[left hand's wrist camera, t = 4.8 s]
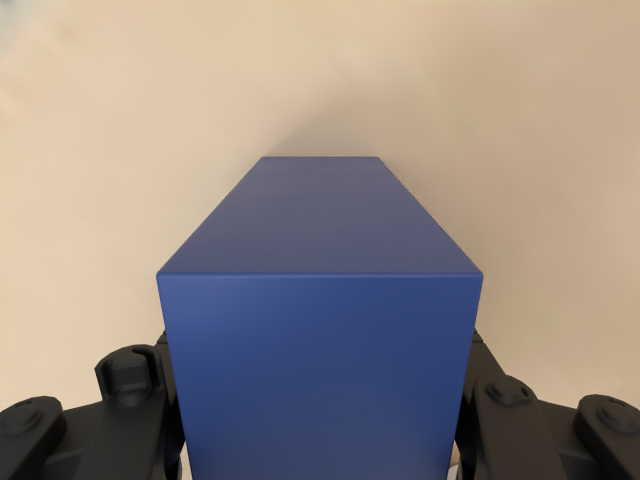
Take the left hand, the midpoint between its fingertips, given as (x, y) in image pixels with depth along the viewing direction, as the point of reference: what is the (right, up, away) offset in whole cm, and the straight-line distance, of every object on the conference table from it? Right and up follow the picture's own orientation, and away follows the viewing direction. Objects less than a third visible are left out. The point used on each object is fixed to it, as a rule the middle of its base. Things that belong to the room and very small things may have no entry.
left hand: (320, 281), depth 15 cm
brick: (0, +1, +3) cm, 3 cm away
